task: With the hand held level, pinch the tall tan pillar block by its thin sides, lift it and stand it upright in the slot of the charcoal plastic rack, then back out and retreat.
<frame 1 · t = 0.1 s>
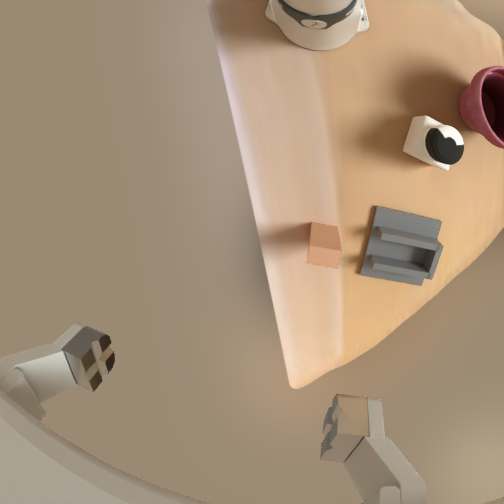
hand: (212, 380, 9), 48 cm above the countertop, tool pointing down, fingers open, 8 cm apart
tall tan pillar block: (323, 231, 56), on the countertop
rack: (400, 246, 53), on the countertop
plant pot: (476, 109, 39), on the countertop
medicine bottle: (423, 141, 45), on the countertop
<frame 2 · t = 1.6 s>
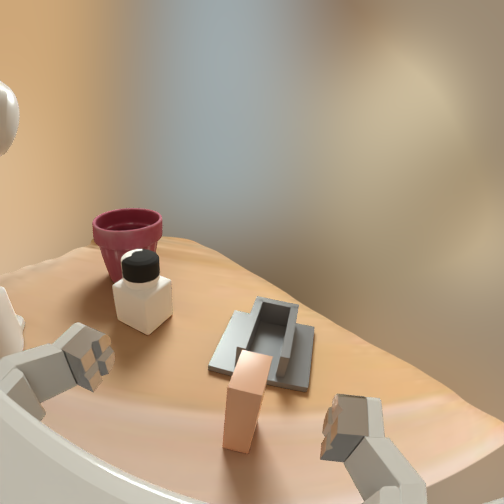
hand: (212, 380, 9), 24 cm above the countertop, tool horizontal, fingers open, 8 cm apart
tall tan pillar block: (240, 434, 30), on the countertop
rack: (266, 349, 44), on the countertop
plant pot: (131, 276, 59), on the countertop
medicine bottle: (145, 318, 48), on the countertop
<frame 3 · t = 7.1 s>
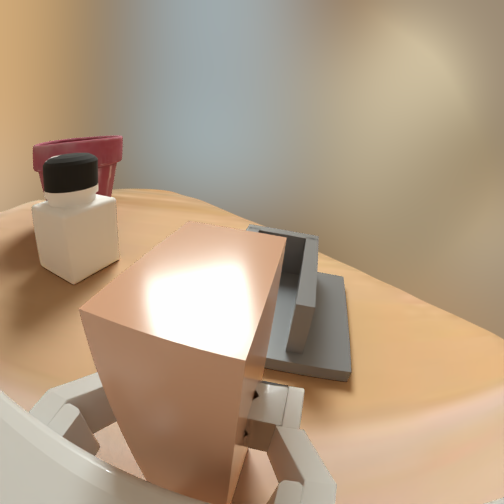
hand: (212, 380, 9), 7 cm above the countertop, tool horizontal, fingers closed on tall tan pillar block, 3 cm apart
tall tan pillar block: (207, 477, 11), on the countertop, touching gripper
rack: (266, 309, 26), on the countertop
plant pot: (80, 222, 41), on the countertop
medicine bottle: (79, 264, 29), on the countertop
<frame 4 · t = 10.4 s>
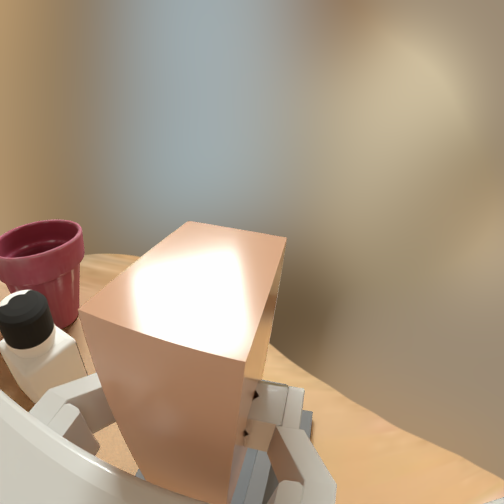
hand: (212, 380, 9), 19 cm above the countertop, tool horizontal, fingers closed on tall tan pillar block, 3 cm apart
tall tan pillar block: (207, 477, 11), point 12 cm above the countertop, touching gripper
rack: (229, 458, 22), on the countertop
plant pot: (53, 315, 37), on the countertop
medicine bottle: (54, 388, 26), on the countertop
when the fingers open (9 cm above the countertop, at t = 13.6 s): tall tan pillar block stays where it is, resting on rack.
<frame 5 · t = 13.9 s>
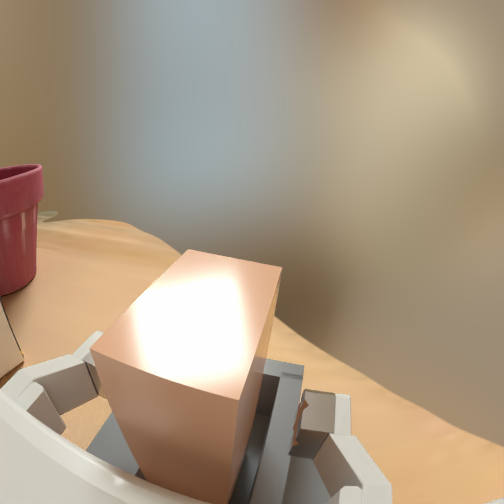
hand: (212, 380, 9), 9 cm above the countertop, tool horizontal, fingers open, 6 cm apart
tall tan pillar block: (207, 482, 12), point 1 cm above the countertop, touching rack
rack: (207, 487, 12), on the countertop
plant pot: (7, 279, 27), on the countertop
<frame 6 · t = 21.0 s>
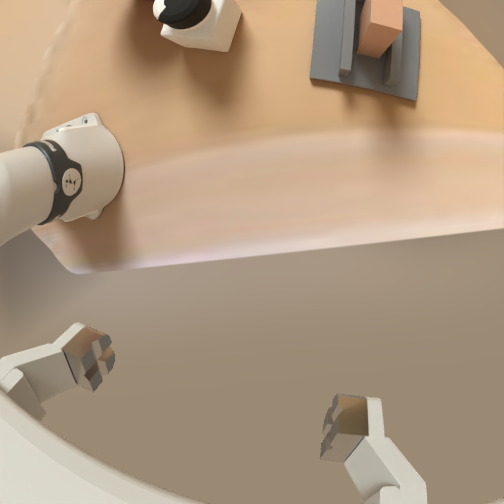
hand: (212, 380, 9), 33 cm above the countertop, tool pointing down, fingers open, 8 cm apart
tall tan pillar block: (368, 39, 28), point 1 cm above the countertop, touching rack
rack: (367, 41, 29), on the countertop
medicine bottle: (212, 28, 32), on the countertop
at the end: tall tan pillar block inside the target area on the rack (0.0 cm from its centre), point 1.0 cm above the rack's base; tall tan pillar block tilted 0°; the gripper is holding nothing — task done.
